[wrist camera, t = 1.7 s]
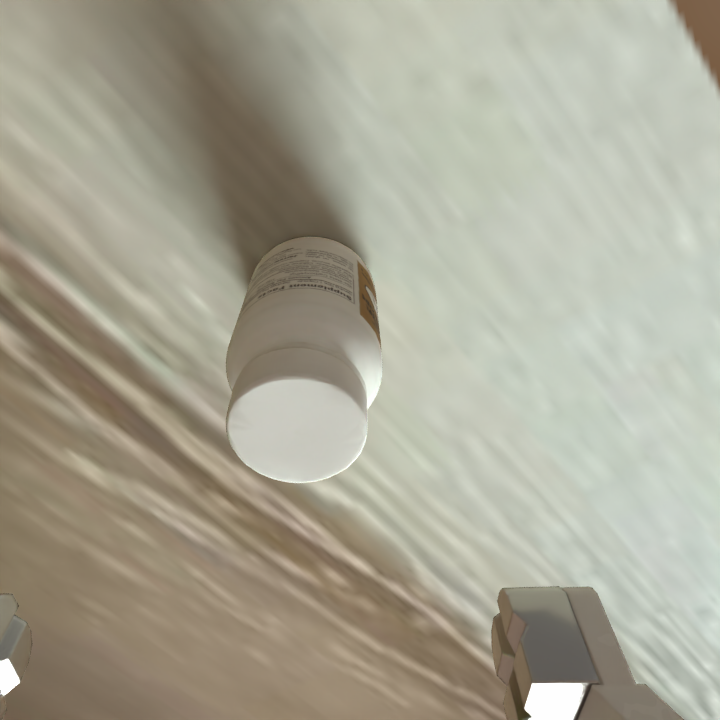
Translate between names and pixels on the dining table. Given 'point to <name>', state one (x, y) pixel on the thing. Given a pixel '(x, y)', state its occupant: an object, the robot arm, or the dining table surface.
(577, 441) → the dining table surface
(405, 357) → the dining table surface
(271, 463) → the pill bottle
